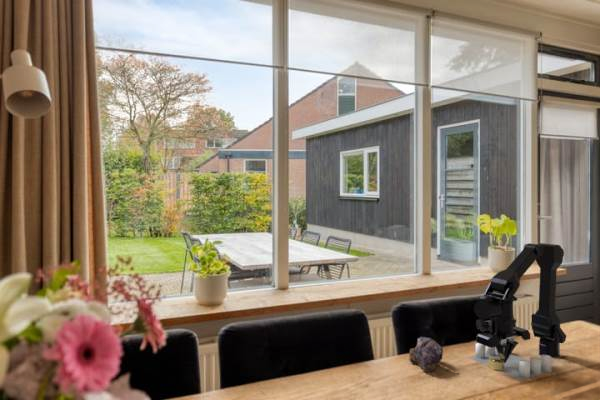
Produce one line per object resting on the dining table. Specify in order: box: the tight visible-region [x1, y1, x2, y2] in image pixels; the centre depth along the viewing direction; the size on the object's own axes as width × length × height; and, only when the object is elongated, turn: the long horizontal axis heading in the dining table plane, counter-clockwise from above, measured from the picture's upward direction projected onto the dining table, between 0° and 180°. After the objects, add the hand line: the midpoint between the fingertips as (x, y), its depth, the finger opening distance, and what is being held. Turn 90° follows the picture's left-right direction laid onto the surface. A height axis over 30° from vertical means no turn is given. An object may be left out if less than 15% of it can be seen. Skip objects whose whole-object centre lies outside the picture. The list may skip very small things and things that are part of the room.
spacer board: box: [468, 342, 555, 381], centre depth 140 cm, size 16×20×5 cm
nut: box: [487, 357, 504, 371], centre depth 137 cm, size 4×5×2 cm
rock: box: [408, 336, 444, 373], centre depth 141 cm, size 12×9×10 cm
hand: (503, 362), depth 138 cm, fingers closed
